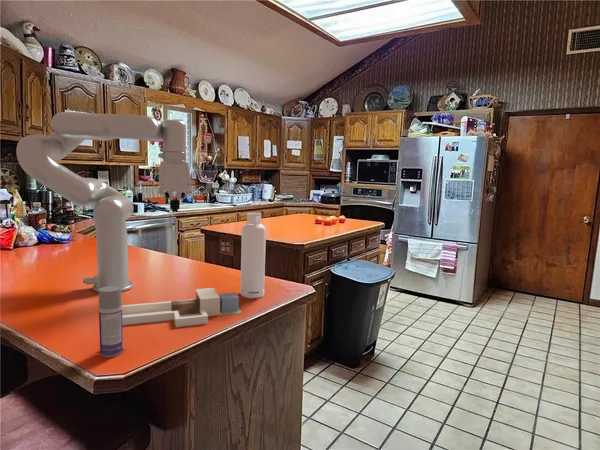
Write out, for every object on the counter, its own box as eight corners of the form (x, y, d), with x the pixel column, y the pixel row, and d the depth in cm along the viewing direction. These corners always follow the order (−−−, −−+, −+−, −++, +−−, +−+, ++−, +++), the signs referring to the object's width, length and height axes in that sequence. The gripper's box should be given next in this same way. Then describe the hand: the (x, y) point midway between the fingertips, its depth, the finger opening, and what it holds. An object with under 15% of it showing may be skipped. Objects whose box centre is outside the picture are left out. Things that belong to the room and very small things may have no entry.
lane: (118, 334, 98) (117, 313, 97) (120, 314, 112) (119, 295, 111) (246, 320, 111) (246, 301, 110) (234, 303, 124) (234, 286, 124)
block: (221, 311, 115) (221, 298, 115) (219, 306, 120) (219, 293, 119) (238, 310, 117) (238, 297, 117) (235, 304, 122) (235, 292, 121)
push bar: (171, 315, 111) (171, 304, 110) (171, 311, 114) (171, 301, 113) (221, 311, 116) (221, 300, 115) (219, 307, 119) (219, 297, 118)
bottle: (254, 299, 128) (256, 215, 125) (235, 295, 133) (236, 213, 129) (268, 293, 135) (271, 213, 132) (250, 289, 140) (252, 211, 136)
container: (105, 348, 91) (103, 285, 89) (126, 348, 91) (124, 285, 89) (96, 357, 86) (94, 291, 84) (118, 357, 86) (116, 292, 84)
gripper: (151, 156, 126) (152, 212, 128) (198, 158, 132) (198, 212, 134) (150, 156, 133) (151, 210, 135) (195, 159, 139) (195, 210, 141)
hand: (174, 211), depth 135 cm, fingers closed
